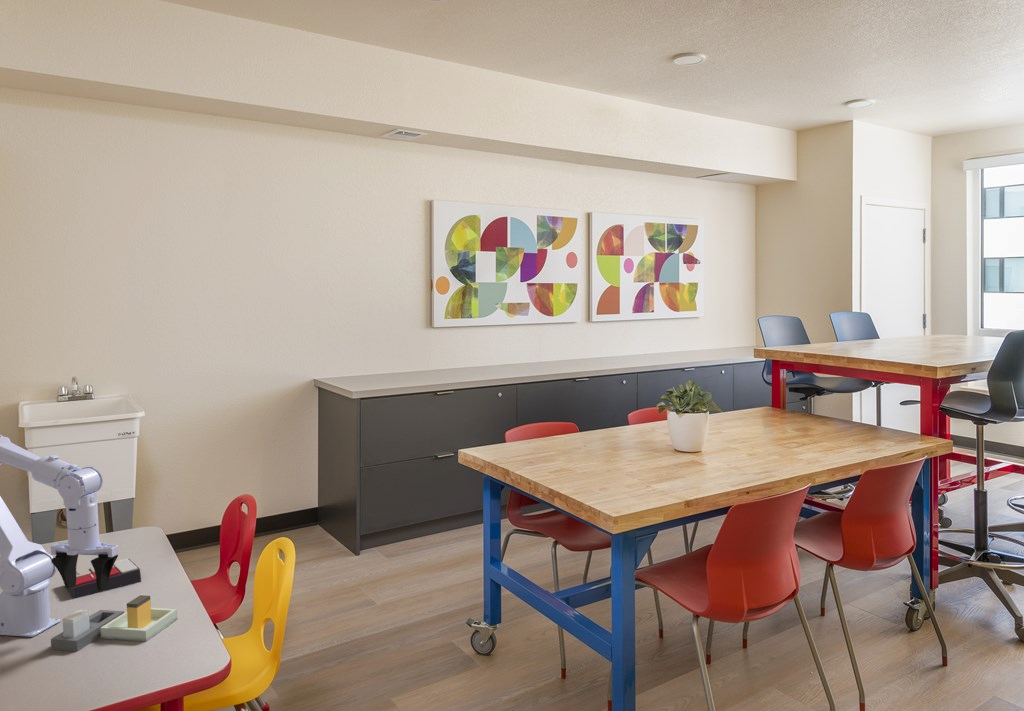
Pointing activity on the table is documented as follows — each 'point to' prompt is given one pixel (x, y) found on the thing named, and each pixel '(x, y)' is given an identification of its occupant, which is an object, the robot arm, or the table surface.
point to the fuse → (76, 624)
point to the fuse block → (89, 635)
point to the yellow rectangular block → (139, 612)
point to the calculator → (120, 576)
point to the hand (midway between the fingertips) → (86, 587)
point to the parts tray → (122, 632)
